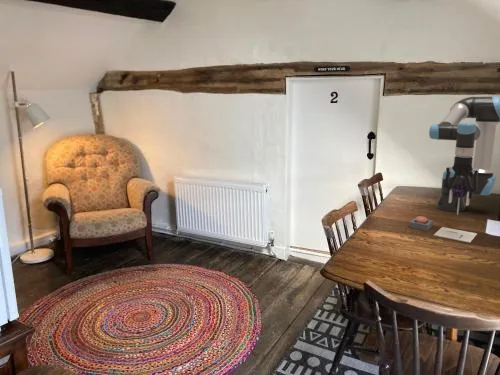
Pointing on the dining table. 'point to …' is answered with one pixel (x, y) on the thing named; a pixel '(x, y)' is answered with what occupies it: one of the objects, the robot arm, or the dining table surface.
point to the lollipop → (459, 192)
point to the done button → (421, 219)
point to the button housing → (420, 225)
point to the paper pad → (455, 234)
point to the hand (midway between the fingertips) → (458, 203)
